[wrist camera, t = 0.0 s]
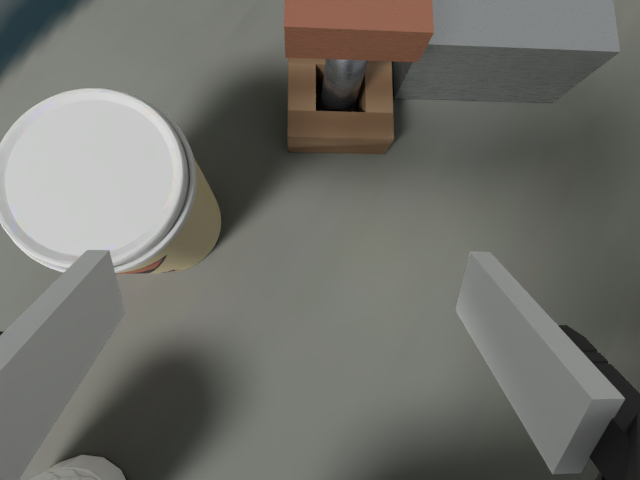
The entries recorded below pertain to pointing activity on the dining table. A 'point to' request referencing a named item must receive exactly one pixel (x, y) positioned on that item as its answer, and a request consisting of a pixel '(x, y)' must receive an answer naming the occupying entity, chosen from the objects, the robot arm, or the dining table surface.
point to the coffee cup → (105, 185)
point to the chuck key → (355, 39)
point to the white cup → (82, 470)
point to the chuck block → (510, 50)
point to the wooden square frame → (334, 126)
